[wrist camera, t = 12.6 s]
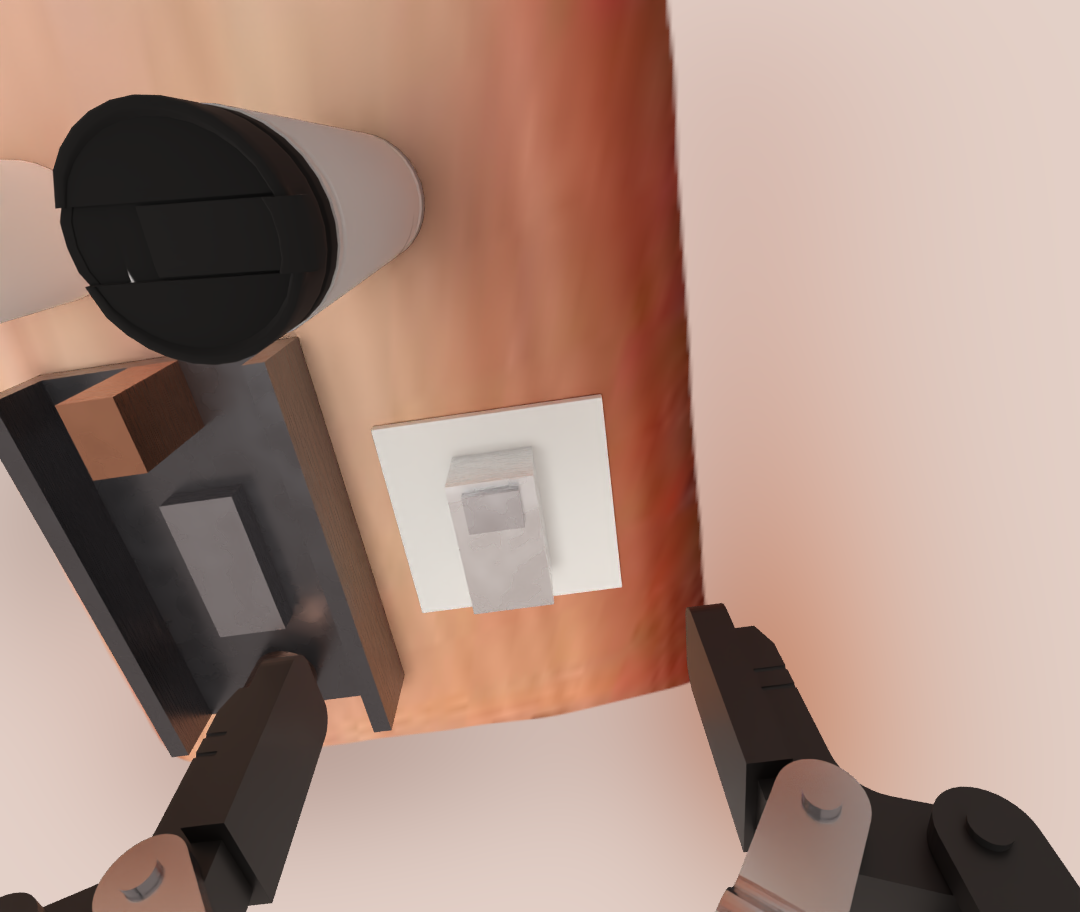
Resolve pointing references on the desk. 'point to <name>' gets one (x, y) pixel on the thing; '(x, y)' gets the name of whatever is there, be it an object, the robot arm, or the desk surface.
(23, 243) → the cylindrical container
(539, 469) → the white mat
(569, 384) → the desk surface
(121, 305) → the travel mug
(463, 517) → the grey box
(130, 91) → the desk surface
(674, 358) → the desk surface
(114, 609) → the dark grey tray
